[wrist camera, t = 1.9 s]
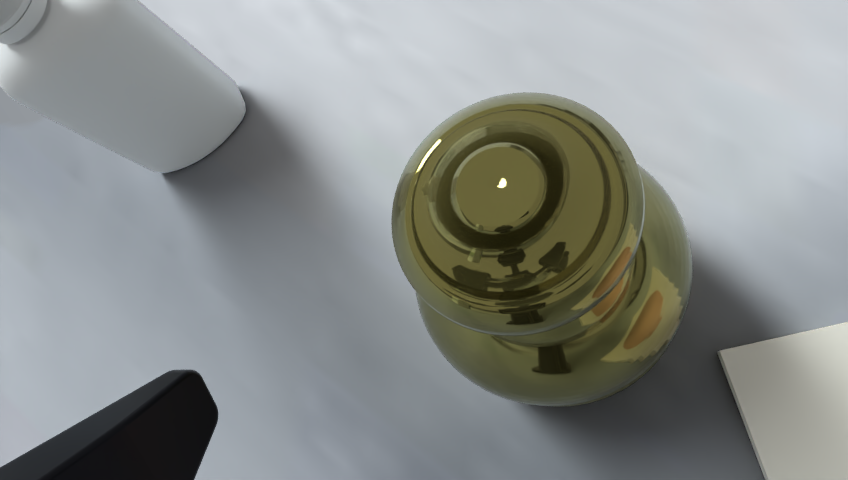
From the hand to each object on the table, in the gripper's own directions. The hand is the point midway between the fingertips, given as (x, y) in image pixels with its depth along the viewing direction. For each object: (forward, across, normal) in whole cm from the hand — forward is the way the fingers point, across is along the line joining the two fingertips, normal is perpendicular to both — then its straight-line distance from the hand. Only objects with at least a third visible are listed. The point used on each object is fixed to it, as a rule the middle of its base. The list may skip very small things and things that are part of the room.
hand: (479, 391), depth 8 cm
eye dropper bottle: (+17, +16, 0) cm, 23 cm away
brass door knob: (+11, 0, +6) cm, 12 cm away
